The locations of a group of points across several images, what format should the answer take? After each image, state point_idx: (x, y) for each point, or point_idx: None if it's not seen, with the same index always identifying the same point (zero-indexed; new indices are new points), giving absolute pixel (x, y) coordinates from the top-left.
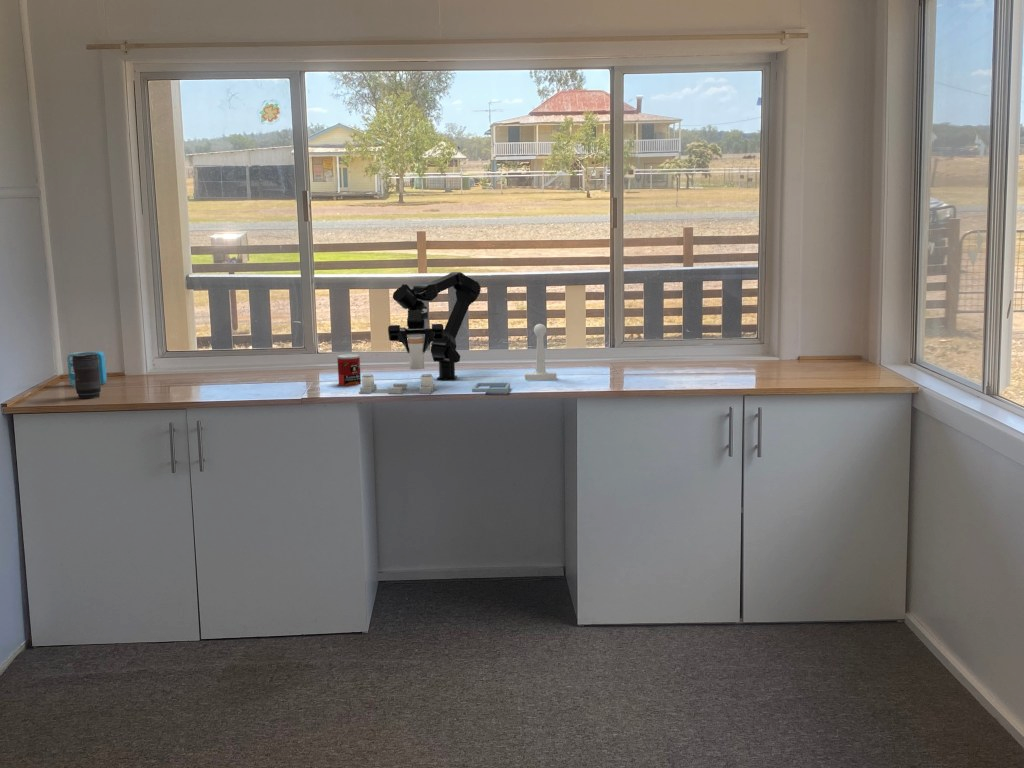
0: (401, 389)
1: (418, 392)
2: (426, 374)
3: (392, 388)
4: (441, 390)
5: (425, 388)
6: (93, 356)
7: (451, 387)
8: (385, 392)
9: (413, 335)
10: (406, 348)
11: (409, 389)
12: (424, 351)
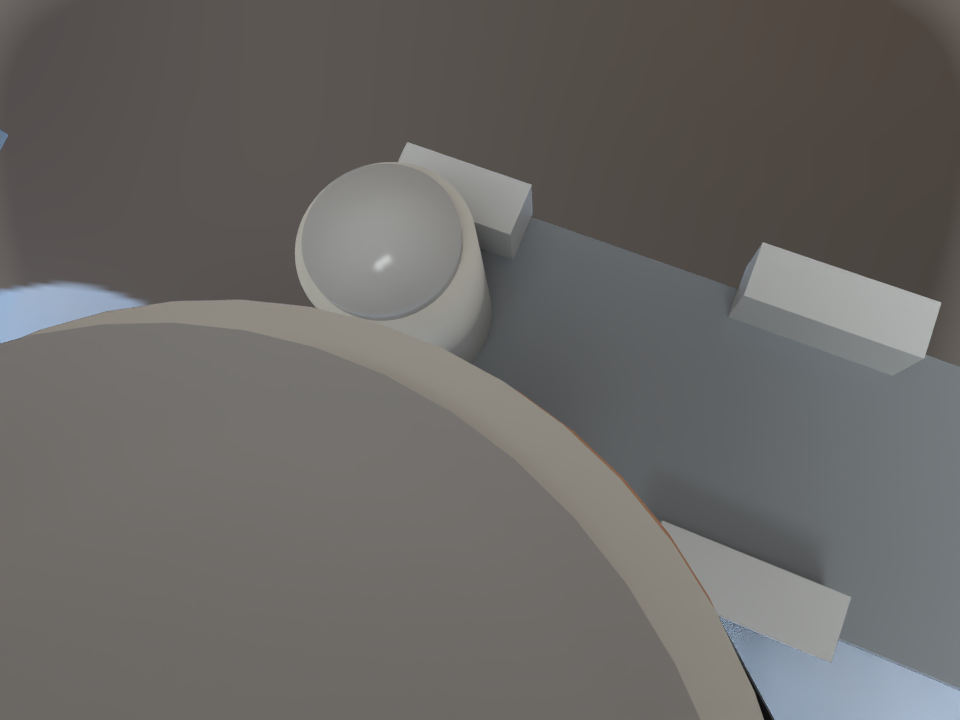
0: (750, 269)
1: (535, 267)
2: (374, 276)
3: (876, 281)
4: None
5: (460, 161)
6: None
7: None
8: (942, 412)
9: (405, 402)
10: (756, 688)
11: None
12: None
